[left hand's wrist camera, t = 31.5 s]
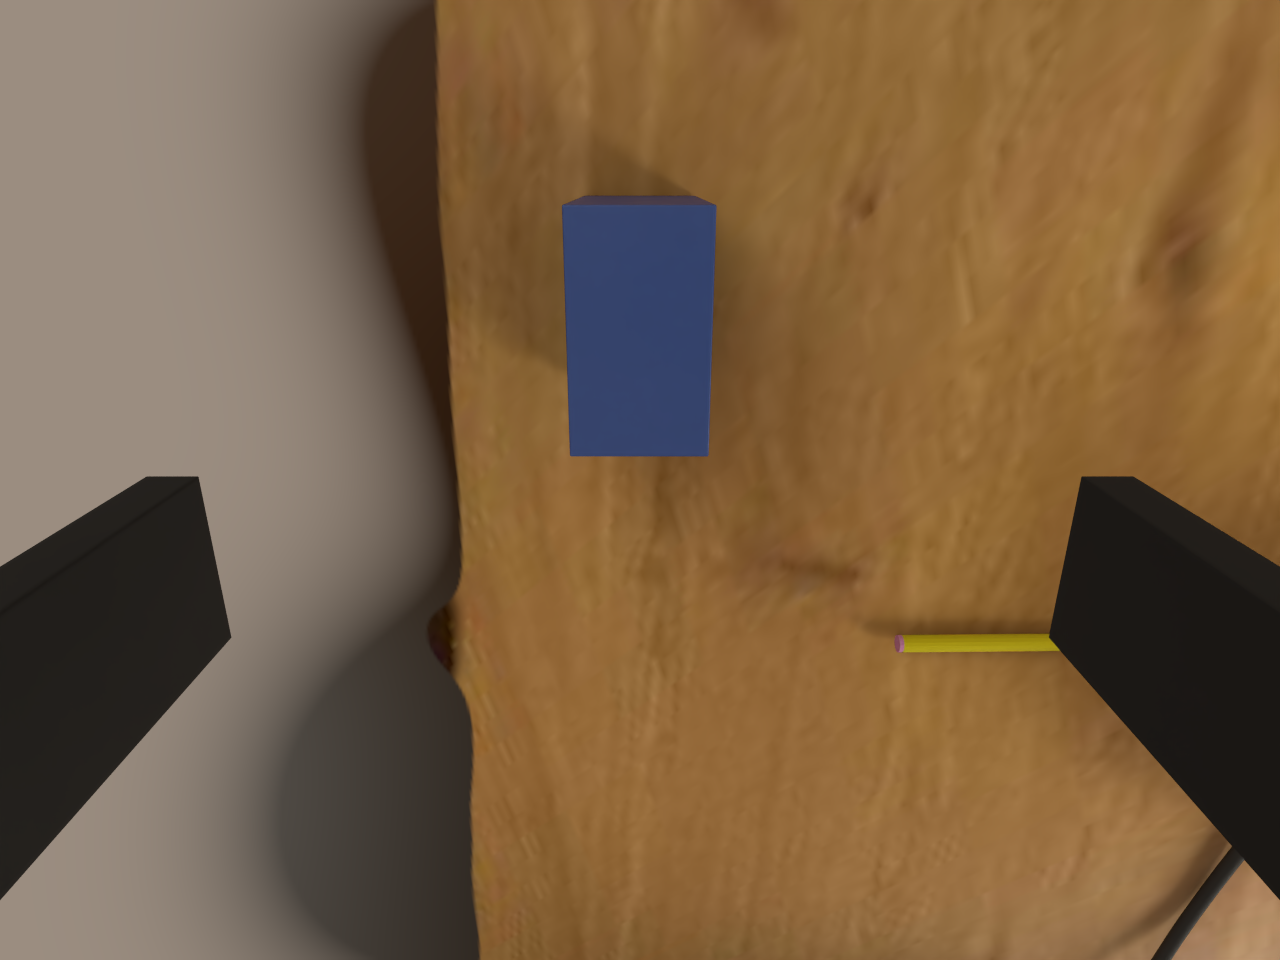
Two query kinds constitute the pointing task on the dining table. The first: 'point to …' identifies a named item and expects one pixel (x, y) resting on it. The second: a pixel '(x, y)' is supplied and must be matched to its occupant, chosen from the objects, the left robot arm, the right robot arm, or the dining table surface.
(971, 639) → the pencil
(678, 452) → the block
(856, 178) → the dining table surface
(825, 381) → the dining table surface
